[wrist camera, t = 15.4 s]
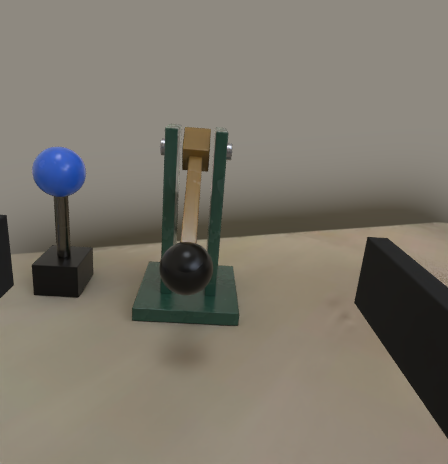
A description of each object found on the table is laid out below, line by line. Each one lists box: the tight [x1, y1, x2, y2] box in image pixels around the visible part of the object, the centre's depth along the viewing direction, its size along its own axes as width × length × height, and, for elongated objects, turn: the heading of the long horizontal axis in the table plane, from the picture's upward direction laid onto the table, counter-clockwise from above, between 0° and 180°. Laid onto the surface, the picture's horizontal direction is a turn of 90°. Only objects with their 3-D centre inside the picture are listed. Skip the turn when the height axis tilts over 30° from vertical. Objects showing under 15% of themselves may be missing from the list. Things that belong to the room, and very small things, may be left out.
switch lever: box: [159, 127, 213, 295], centre depth 31 cm, size 15×4×4 cm
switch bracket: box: [132, 124, 239, 326], centre depth 36 cm, size 10×9×16 cm
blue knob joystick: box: [32, 147, 93, 297], centre depth 37 cm, size 4×5×13 cm
